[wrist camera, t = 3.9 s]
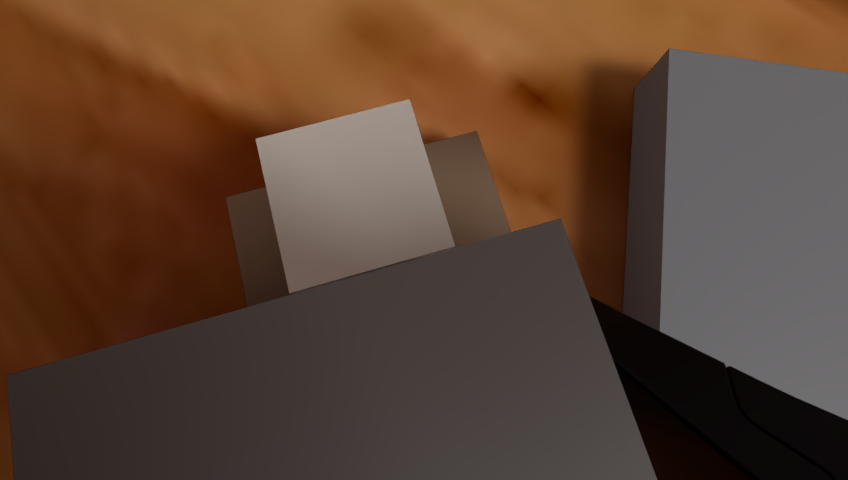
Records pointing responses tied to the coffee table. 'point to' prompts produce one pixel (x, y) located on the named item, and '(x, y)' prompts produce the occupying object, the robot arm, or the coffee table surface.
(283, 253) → the box
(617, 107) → the coffee table surface
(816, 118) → the dock
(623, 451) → the grey column with base
